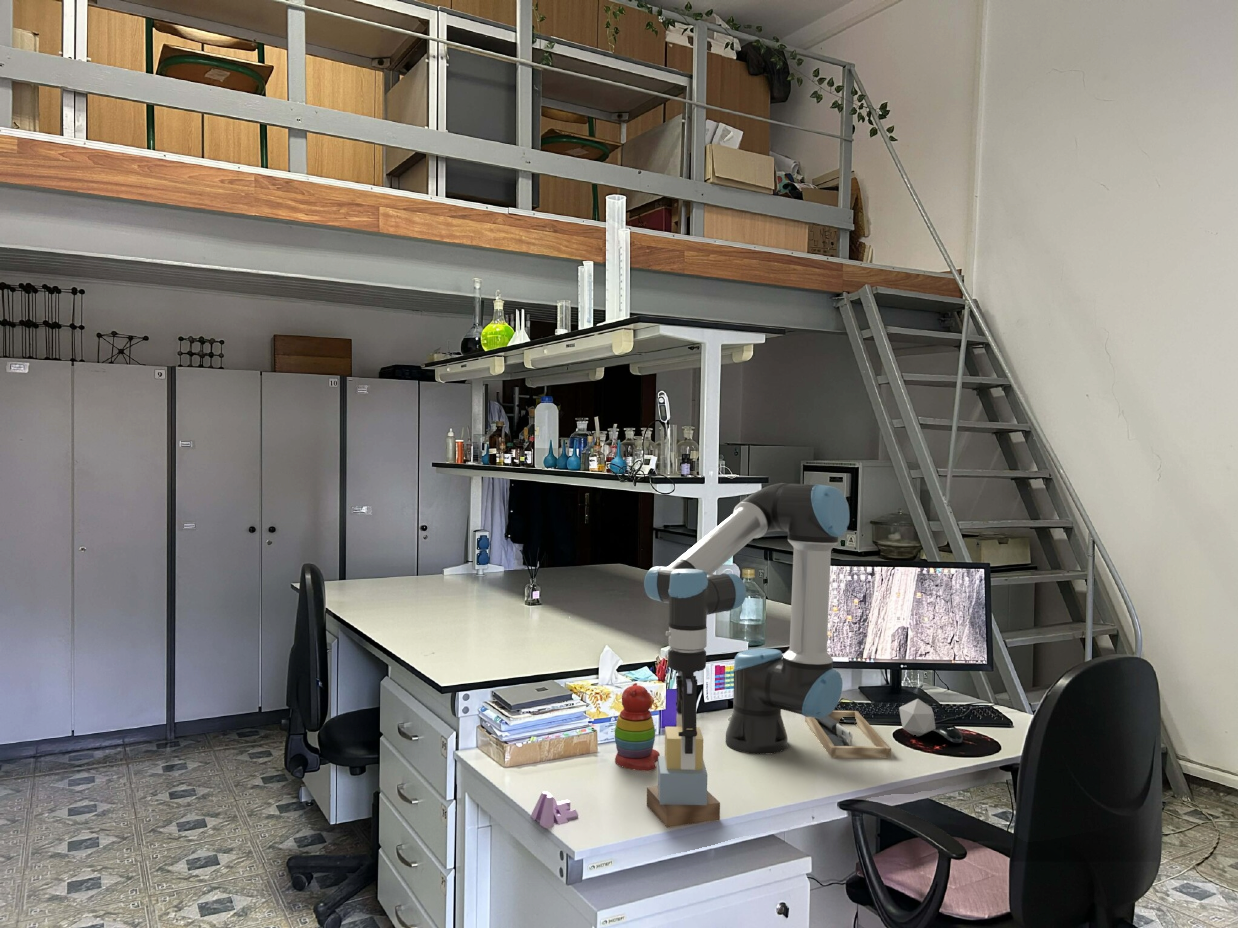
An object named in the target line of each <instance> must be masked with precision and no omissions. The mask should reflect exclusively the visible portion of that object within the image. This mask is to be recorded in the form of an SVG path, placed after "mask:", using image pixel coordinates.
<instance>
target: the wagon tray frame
mask: <svg viewBox="0 0 1238 928" xmlns="http://www.w3.org/2000/svg"><path fill="white" fill-rule="evenodd" d="M829 717H831V718H833V719H834V720H836V721H837V722H839V721H840V719H841V718H843V717H855V719H856V722H857V726H858V727H857V726H856V727H857V728H858V729H859V730H860V731H861V732H862V734H864V736H865V737H866V738H867V739H868V740H869V741H870V742H871V743H872V744H873V746H865V745H864V746H858V745H857V746H854V745H852V746H834V744H833V743H832V742H831V740H830V739H829V738H828V736H827V735H826V733H825V732H824V731H823V729H822V728H821V726H820V725H819V724H818V722H817V720H816V719H815V718H813V717H805V716H804V723H805V724H806V723H807V724H806V726H807V727H808V726H809V727H810V728H809V727H808V728H809V729H810V731H811V730H812V731H813V732H812V731H811V732H812V734H813V733H814V734H815V735H814V734H813V735H814V737H815V736H816V737H817V738H816V737H815V738H816V739H817V740H819V741H820V742H819V741H818V742H819V743H820V745H821V744H822V745H823V746H822V745H821V746H822V748H823V749H824V748H825V749H826V750H825V749H824V750H825V752H826V753H827V752H828V753H827V755H828V756H829V757H830V758H831V759H832V758H833V759H834V758H836V759H839V758H840V759H841V758H842V759H849V758H850V759H852V758H853V759H864V758H865V759H877V758H878V759H891V757H892V756H891V755H892V748H891V747H890V745H889V744H888V743H887V742H886V741H885V740H884V739H883V738H882V737H881V735H879V733H878V732H877V731H876V730H875V729H874V728H873V727H872V726H871V725H870V723H869V722H868V721H867V720H866V719H865V718H864V717H863V716H862V714H861V713H860V712H859V711H858V710H833V712H832V713H831V714H830V715H829Z"/></svg>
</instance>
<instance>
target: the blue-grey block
mask: <svg viewBox="0 0 1238 928" xmlns="http://www.w3.org/2000/svg"><path fill="white" fill-rule="evenodd" d="M707 771H708V770H707V768H706V764H705V760H704V759H703V770H682V769H667V768H666V761H665V755H663V756H662V755H660V756H658V760H657V786H658V793H659V801H660V804H662V805H707V791H708V772H707Z"/></svg>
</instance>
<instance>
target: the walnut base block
mask: <svg viewBox="0 0 1238 928" xmlns="http://www.w3.org/2000/svg"><path fill="white" fill-rule="evenodd" d="M646 807H647V808H648V809H649V810H650V811H651V812H652V813H653V814H654V815H655V816H656V817H657V819H658V820H659V821H660V822H661V823H662V824H663V825H664V827H666V828H667V829H668V828H674V827H675V828H676V827H680V826H687V825H695V824H703V823H708V822H716V821H721V802H720V801H719V800H718V799H717V798H716V797H715V796H714V795H713V794H712V793H710V792H709V791H708V790H707V805H662V804H660V801H659V793H658V785H654V786H653V785H652V786H647V787H646Z"/></svg>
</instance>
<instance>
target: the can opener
mask: <svg viewBox="0 0 1238 928" xmlns="http://www.w3.org/2000/svg"><path fill="white" fill-rule="evenodd" d="M815 719H816V720H817V722H818V724H819V725H820V726H821V728H822V729H823V731H824V732H825V733H826V735H827V736H828V738H829V739H830V740H831V742H832V743H833V744H834V746H853V736H854V735H853V733H851V731H850V730H848V729H847V728H845V727H844V726H843V725H842V723H839V722H837V721H836V720H834V719H833V718H831V717H829V716H827V717H825V718H821V719H819V718H815Z"/></svg>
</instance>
